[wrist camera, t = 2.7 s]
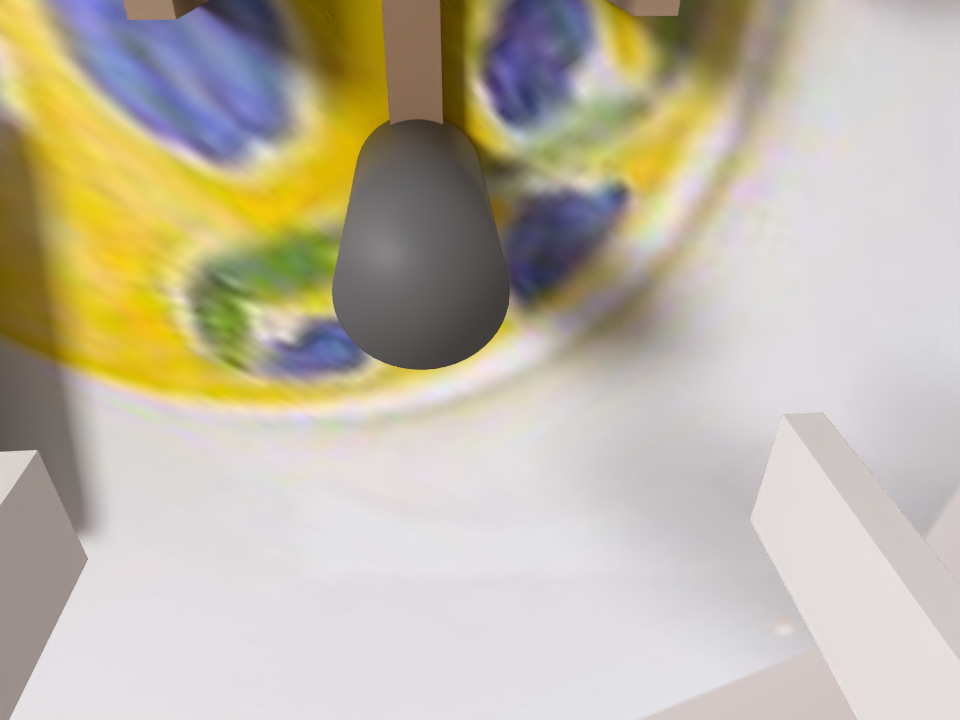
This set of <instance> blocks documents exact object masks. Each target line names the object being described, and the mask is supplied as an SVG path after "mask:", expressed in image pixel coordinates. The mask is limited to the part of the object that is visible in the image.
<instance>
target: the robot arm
mask: <svg viewBox="0 0 960 720" xmlns="http://www.w3.org/2000/svg"><path fill="white" fill-rule="evenodd" d="M750 521H751V523H752V525H753V527H754V529H755V531H756V532H757V534H758V536H759V538H760V540H761V542H762V543H763V545H764V547H765V549H766V551H767V553H768V555H769V556H770V558H771V560H772V562H773V564H774V566H775V568H776V569H777V571H778V573H779V575H780V577H781V579H782V580H783V582H784V584H785V586H786V588H787V590H788V592H789V593H790V595H791V597H792V599H793V601H794V603H795V605H796V606H797V608H798V610H799V612H800V614H801V616H802V618H803V619H804V621H805V623H806V625H807V627H808V629H809V630H810V632H811V634H812V636H813V638H814V640H815V642H816V643H817V645H818V647H819V649H820V651H821V653H822V655H823V656H824V658H825V660H826V662H827V664H828V666H829V667H830V669H831V671H832V673H833V675H834V677H835V679H836V680H837V682H838V684H839V686H840V688H841V690H842V691H843V693H844V695H845V697H846V699H847V701H848V703H849V705H850V706H851V708H852V710H853V712H854V714H855V716H856V717H857V719H858V720H960V584H959V582H958V581H957V580H956V579H955V577H954V576H953V575H952V574H951V572H950V571H949V570H948V569H947V567H946V566H945V565H944V564H943V562H942V561H941V560H940V559H939V557H938V556H937V555H936V554H935V552H934V551H933V550H932V549H931V548H930V546H929V545H928V544H927V542H926V541H925V540H924V538H923V537H922V536H921V535H920V533H919V532H918V531H917V530H916V528H915V527H914V526H913V525H912V523H911V522H910V521H909V520H908V518H907V517H906V516H905V515H904V513H903V512H902V511H901V510H900V508H899V507H898V506H897V505H896V503H895V502H894V501H893V499H892V498H891V497H890V496H889V494H888V493H887V492H886V491H885V489H884V488H883V487H882V486H881V484H880V483H879V482H878V481H877V479H876V478H875V477H874V476H873V474H872V473H871V472H870V471H869V469H868V468H867V467H866V466H865V464H864V463H863V462H862V461H861V459H860V458H859V457H858V455H857V454H856V453H855V452H854V450H853V449H852V448H851V447H850V445H849V444H848V443H847V442H846V440H845V439H844V438H843V437H842V435H841V434H840V433H839V432H838V430H837V429H836V428H835V427H834V425H833V424H832V423H831V422H830V420H829V419H828V418H827V417H826V415H825V414H824V413H802V414H783V416H782V419H781V423H780V426H779V429H778V432H777V435H776V439H775V442H774V445H773V448H772V451H771V455H770V458H769V461H768V464H767V467H766V471H765V474H764V477H763V480H762V483H761V487H760V490H759V493H758V496H757V499H756V503H755V506H754V509H753V512H752V515H751V519H750ZM87 560H88V558H87V556H86V554H85V552H84V549H83V547H82V545H81V543H80V541H79V539H78V536H77V534H76V532H75V530H74V528H73V525H72V523H71V521H70V519H69V517H68V515H67V512H66V510H65V508H64V506H63V504H62V502H61V499H60V497H59V495H58V493H57V491H56V488H55V486H54V484H53V482H52V480H51V478H50V475H49V473H48V471H47V469H46V467H45V465H44V462H43V460H42V458H41V456H40V454H39V451H38V450H29V451H8V452H0V720H9V719H10V717H11V715H12V713H13V710H14V708H15V706H16V704H17V702H18V700H19V698H20V696H21V694H22V692H23V690H24V688H25V686H26V684H27V682H28V680H29V678H30V676H31V674H32V672H33V670H34V668H35V666H36V664H37V662H38V660H39V658H40V656H41V653H42V651H43V649H44V647H45V645H46V643H47V641H48V639H49V637H50V635H51V633H52V631H53V629H54V627H55V625H56V623H57V621H58V619H59V617H60V615H61V613H62V611H63V609H64V607H65V605H66V603H67V601H68V599H69V597H70V594H71V592H72V590H73V588H74V586H75V584H76V582H77V580H78V578H79V576H80V574H81V572H82V570H83V568H84V566H85V564H86V562H87Z"/></svg>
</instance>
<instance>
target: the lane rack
mask: <svg viewBox="0 0 960 720" xmlns="http://www.w3.org/2000/svg"><path fill="white" fill-rule="evenodd" d="M208 1H209V0H123V2H124V6H125V9H126V13H127V17H128V20H154V19H178V18H180V17H181V16H183V15H185V14H187V13H188V12H190V11H192V10H194V9H195V8H197V7H199V6H201V5H202V4H204V3H206V2H208ZM608 1H610V2H611V3H613V4H615V5H616V6H618V7H620V8H621V9H623V10H625V11H627V12H628V13H630V14H632V15H633V16H678V12H679V6H680V0H608Z"/></svg>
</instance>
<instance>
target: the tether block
mask: <svg viewBox="0 0 960 720" xmlns="http://www.w3.org/2000/svg"><path fill="white" fill-rule="evenodd" d="M382 10H383V25H384V40H385V55H386V70H387V85H388V100H389V115H390V120H389V121H387V122H385V123H383V124H382V125H381V126H379V127H378V128H377V129H376V130H374V131H373V132H372V133H371V134H370V136H369V137H368V138H367V140H366V141H365V143H364V145H363V146H362V148H361V151H360V153H359V156H358V160H357V164H356V169H355V174H354V179H353V184H352V189H351V194H350V199H349V204H348V209H347V214H346V219H345V224H344V229H343V234H342V239H341V244H340V249H339V254H338V259H337V264H336V269H335V274H334V279H333V287H332V295H333V304H334V309H335V312H336V315H337V318H338V320H339V322H340V324H341V326H342V328H343V330H344V331H345V332H346V334H347V335H348V337H349V338H350V339H351V340H352V341H353V342H354V343H355V344H356V345H357V346H358V347H359V348H360V349H362V350H363V351H364V352H366V353H367V354H369V355H370V356H372V357H373V358H375V359H378V360H380V361H382V362H384V363H387V364H390V365H393V366H397V367H401V368H406V369H416V370H427V369H437V368H441V367H446V366H450V365H453V364H456V363H458V362H460V361H463V360H465V359H467V358H469V357H470V356H472V355H474V354H475V353H477V352H478V351H479V350H481V349H482V348H483V347H484V346H485V345H486V344H487V343H488V342H489V341H490V340H491V339H492V338H493V337H494V335H495V334H496V333H497V331H498V330H499V328H500V326H501V325H502V323H503V320H504V318H505V315H506V312H507V308H508V305H509V295H510V292H509V281H508V276H507V271H506V267H505V263H504V259H503V255H502V251H501V247H500V243H499V238H498V234H497V230H496V226H495V222H494V218H493V214H492V210H491V206H490V201H489V197H488V193H487V189H486V185H485V181H484V177H483V173H482V169H481V164H480V160H479V157H478V154H477V152H476V150H475V148H474V146H473V144H472V143H471V141H470V140H469V138H468V137H467V136H466V135H465V134H464V133H463V132H462V131H461V130H460V129H459V128H458V127H456V126H455V125H453V124H452V123H450V122H448V121H446V120H444V119H443V105H442V65H441V24H440V0H382Z"/></svg>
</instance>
